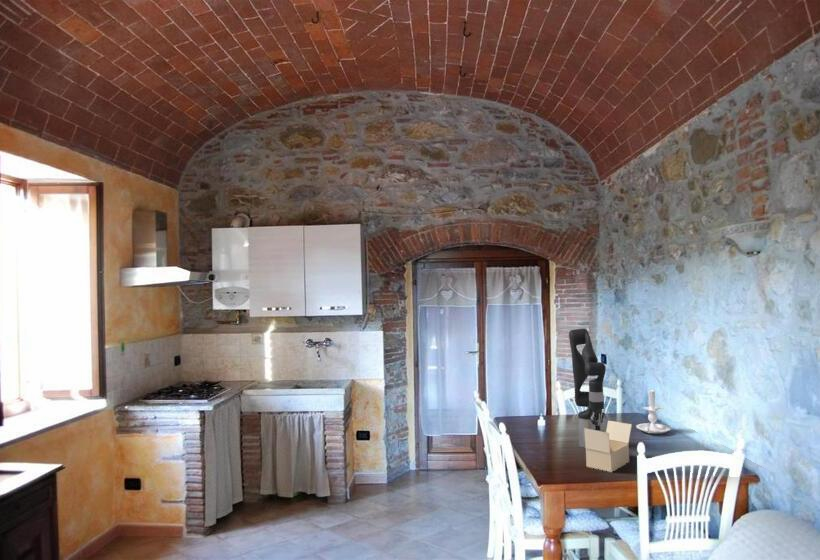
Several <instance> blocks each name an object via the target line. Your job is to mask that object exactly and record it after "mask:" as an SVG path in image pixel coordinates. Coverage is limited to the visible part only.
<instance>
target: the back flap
mask: <svg viewBox="0 0 820 560" xmlns="http://www.w3.org/2000/svg"><path fill="white" fill-rule="evenodd" d="M632 427H633V424H632V423H626V422H620V421H613V420H607V425H606V429H605V432H608V433H609V440H613V441H617V442H621V443H627V444H629V443H630V437H631V432H632ZM629 445H630V444H629Z"/></svg>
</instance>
